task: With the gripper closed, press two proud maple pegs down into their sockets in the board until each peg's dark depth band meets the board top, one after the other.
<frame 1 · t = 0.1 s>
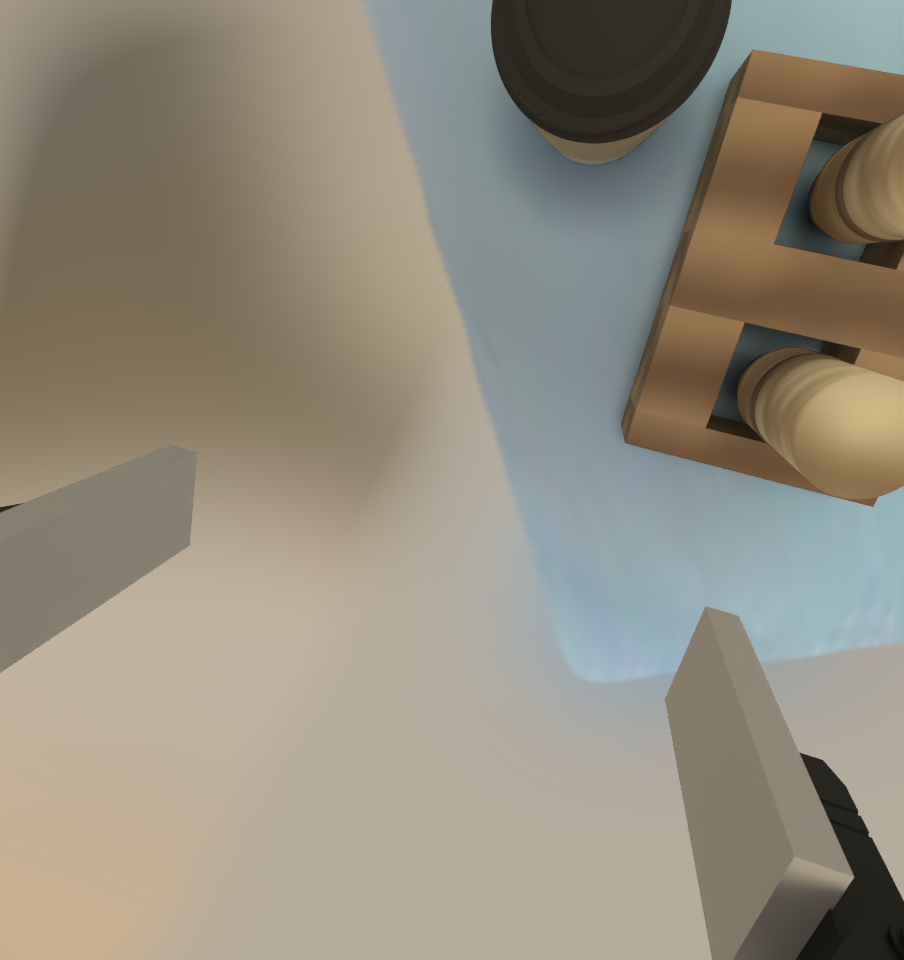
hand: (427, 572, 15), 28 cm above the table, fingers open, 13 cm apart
peg 1: (811, 408, 29), point 10 cm above the table, slide at 0.0 cm
board: (788, 294, 36), on the table
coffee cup: (600, 100, 36), on the table
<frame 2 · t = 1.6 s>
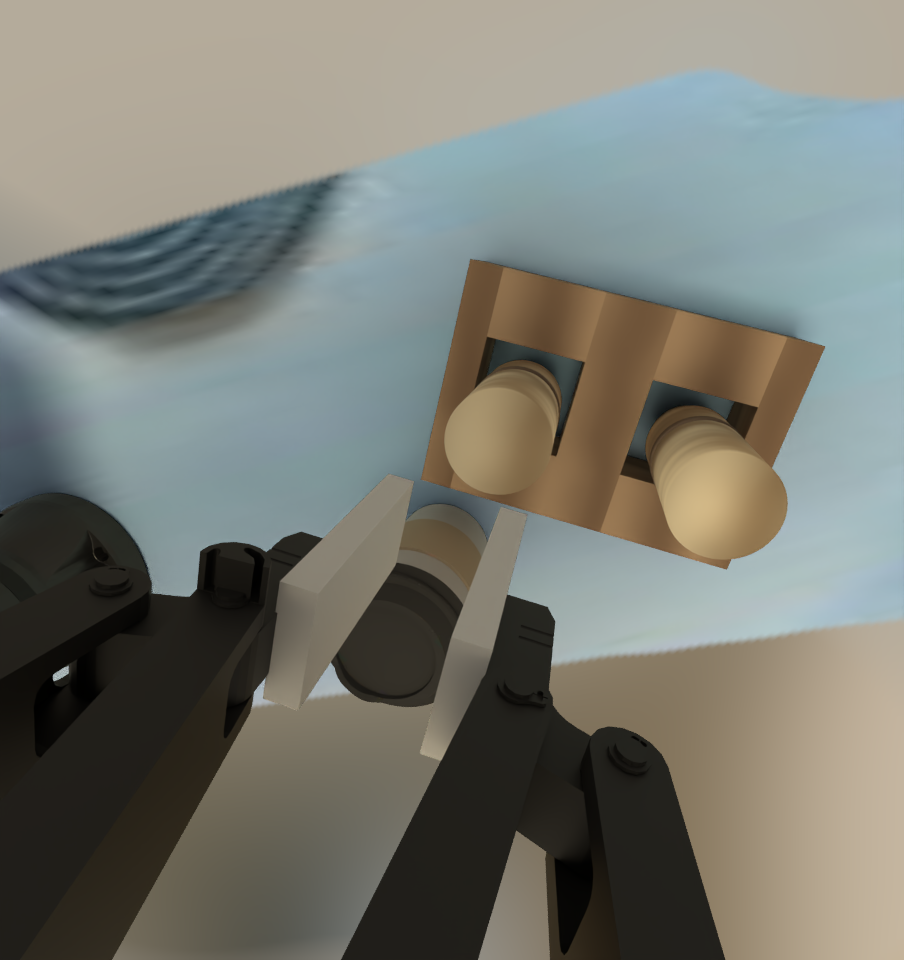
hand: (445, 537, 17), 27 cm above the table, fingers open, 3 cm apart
peg 2: (512, 414, 33), point 10 cm above the table, slide at 0.0 cm
peg 1: (700, 466, 31), point 10 cm above the table, slide at 0.0 cm
board: (601, 403, 41), on the table
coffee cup: (444, 544, 47), on the table
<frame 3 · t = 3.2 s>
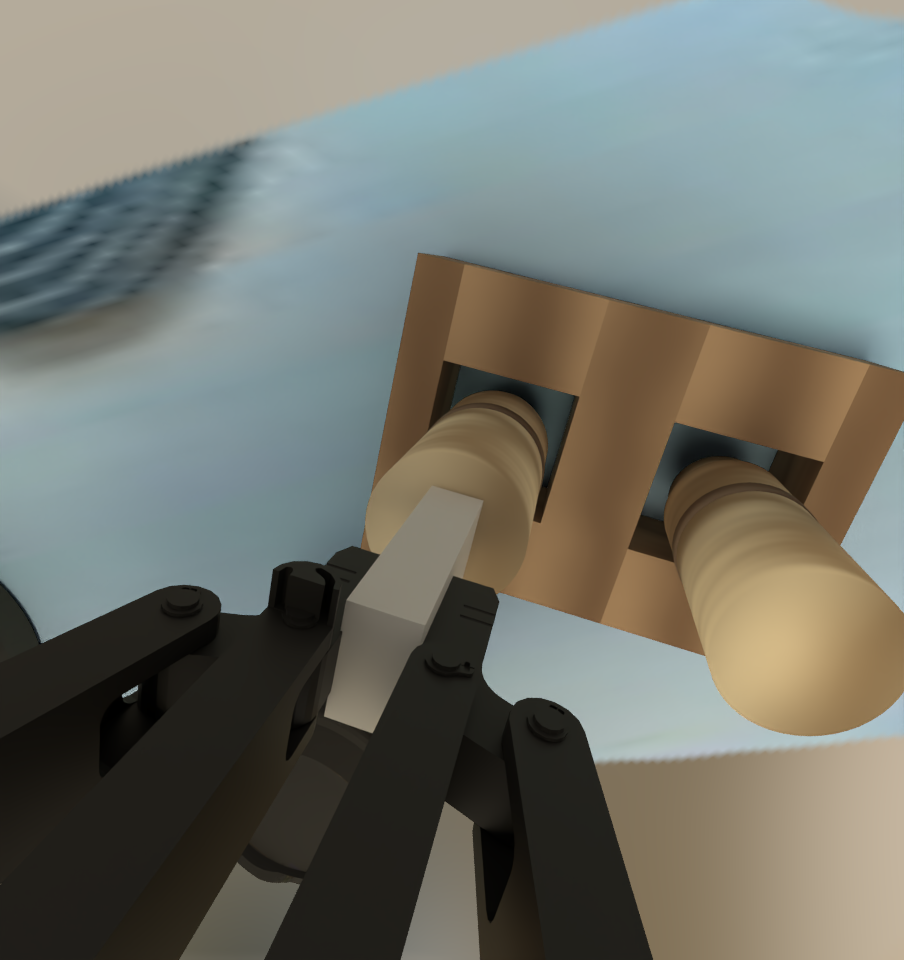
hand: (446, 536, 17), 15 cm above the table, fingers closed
peg 2: (478, 471, 23), point 9 cm above the table, slide at 0.9 cm, touching gripper
peg 1: (750, 558, 21), point 10 cm above the table, slide at 0.0 cm
board: (601, 445, 31), on the table
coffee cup: (401, 618, 37), on the table
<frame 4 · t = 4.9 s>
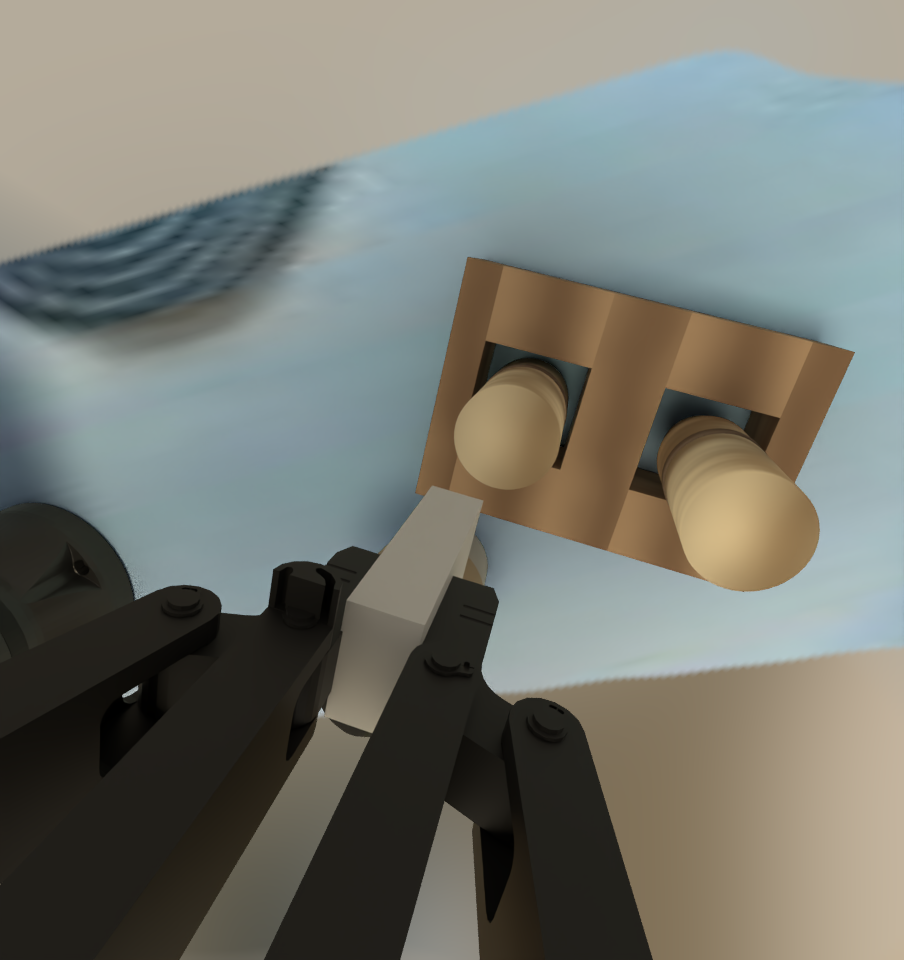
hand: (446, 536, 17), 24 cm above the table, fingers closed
peg 2: (520, 411, 33), point 7 cm above the table, slide at 3.5 cm
peg 1: (718, 484, 29), point 10 cm above the table, slide at 0.0 cm
board: (608, 411, 39), on the table
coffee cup: (441, 559, 45), on the table
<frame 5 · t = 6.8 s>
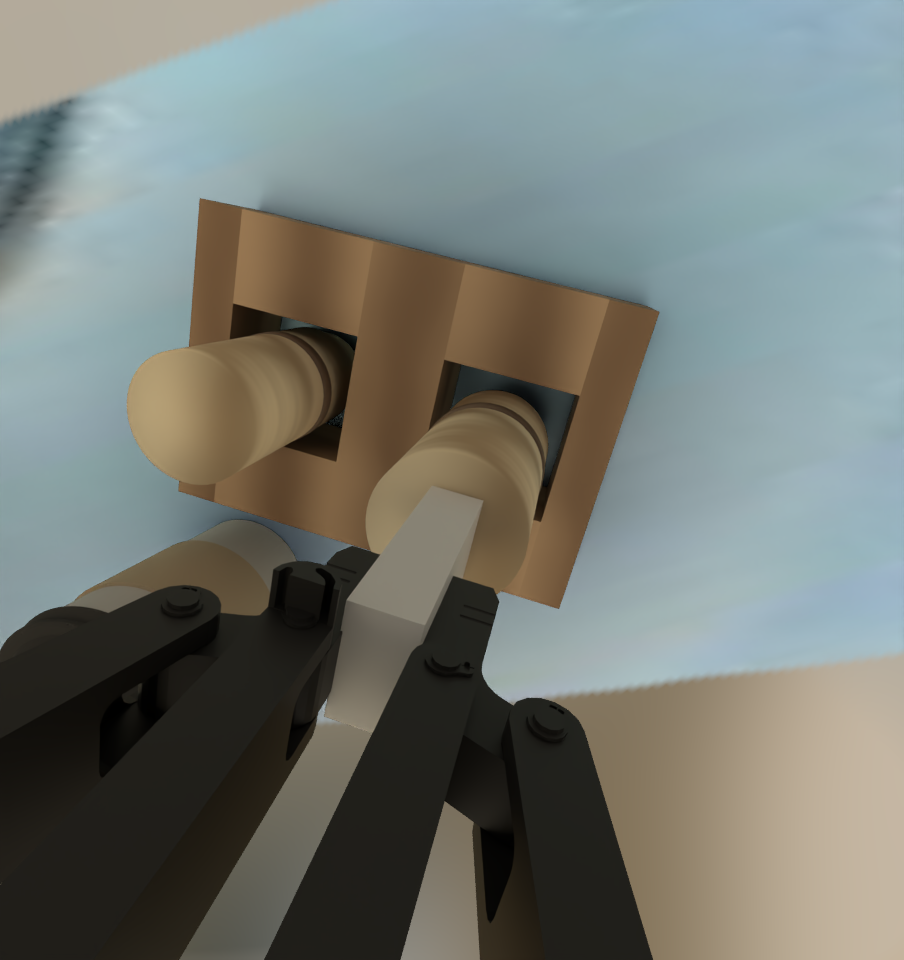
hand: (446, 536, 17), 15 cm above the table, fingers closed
peg 2: (270, 390, 27), point 7 cm above the table, slide at 3.5 cm
peg 1: (478, 471, 23), point 9 cm above the table, slide at 0.8 cm, touching gripper
board: (416, 393, 32), on the table
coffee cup: (251, 569, 38), on the table
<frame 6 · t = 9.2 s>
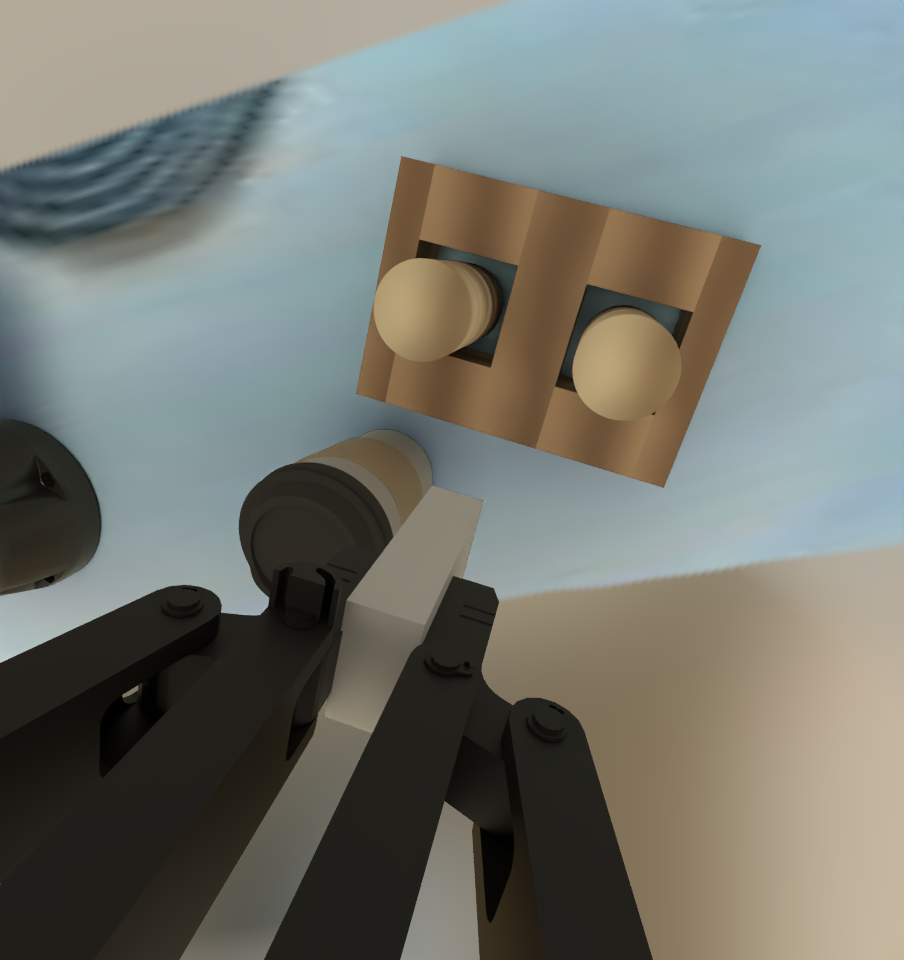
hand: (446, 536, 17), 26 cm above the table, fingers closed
peg 2: (449, 305, 35), point 7 cm above the table, slide at 3.5 cm
peg 1: (622, 354, 34), point 7 cm above the table, slide at 3.5 cm
board: (544, 321, 40), on the table
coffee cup: (389, 472, 46), on the table
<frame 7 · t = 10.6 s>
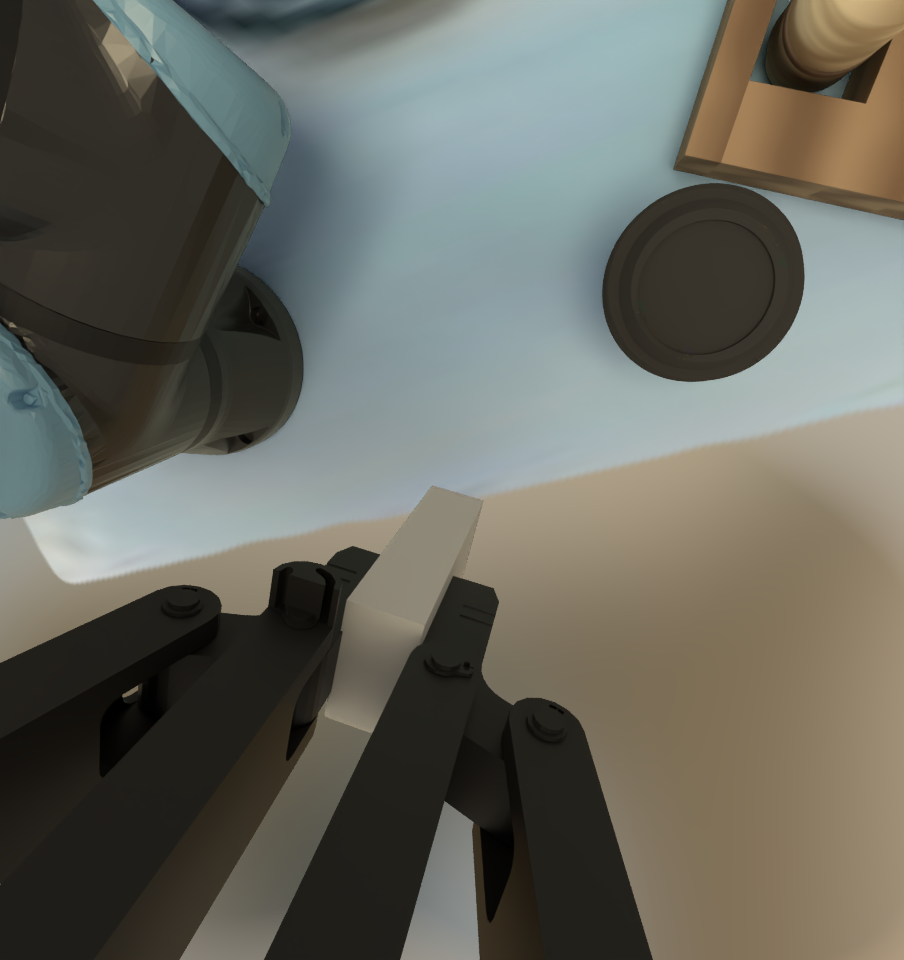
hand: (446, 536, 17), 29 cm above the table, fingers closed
peg 2: (843, 13, 30), point 7 cm above the table, slide at 3.5 cm
board: (889, 75, 35), on the table
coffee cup: (667, 284, 41), on the table
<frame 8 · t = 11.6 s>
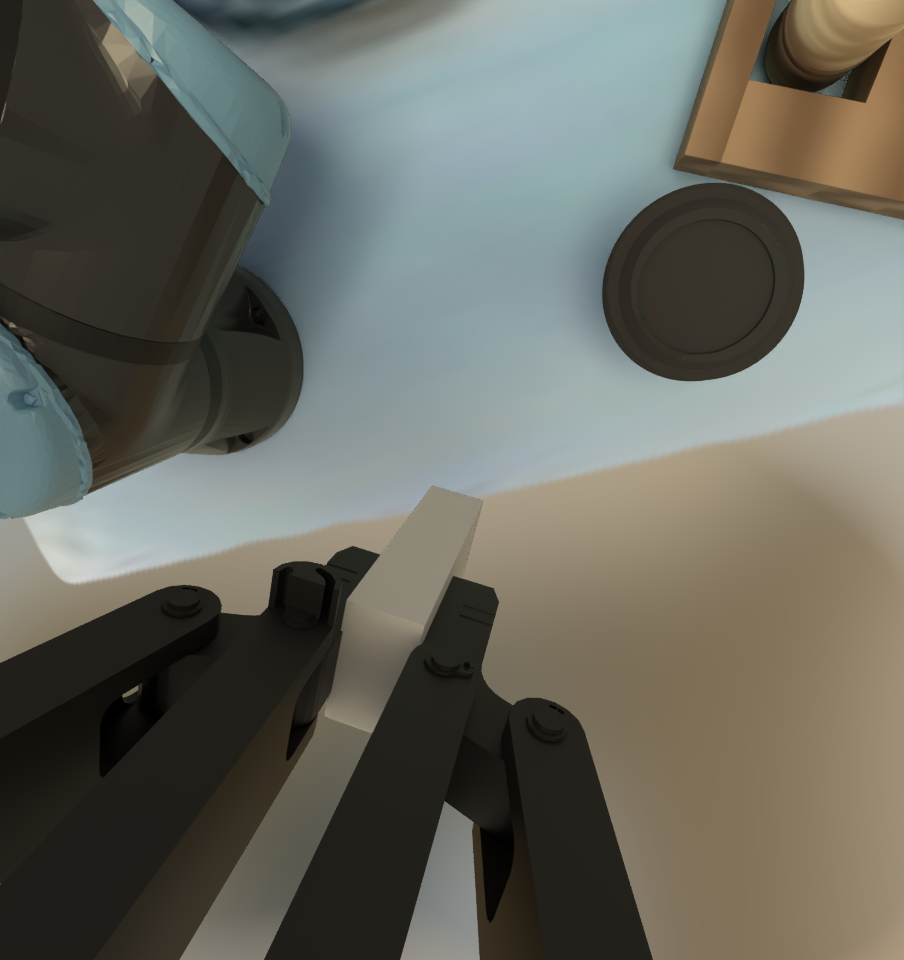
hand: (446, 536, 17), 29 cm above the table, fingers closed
peg 2: (843, 12, 30), point 7 cm above the table, slide at 3.5 cm
board: (889, 74, 35), on the table
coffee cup: (667, 283, 41), on the table
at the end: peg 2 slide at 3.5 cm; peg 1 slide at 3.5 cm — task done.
